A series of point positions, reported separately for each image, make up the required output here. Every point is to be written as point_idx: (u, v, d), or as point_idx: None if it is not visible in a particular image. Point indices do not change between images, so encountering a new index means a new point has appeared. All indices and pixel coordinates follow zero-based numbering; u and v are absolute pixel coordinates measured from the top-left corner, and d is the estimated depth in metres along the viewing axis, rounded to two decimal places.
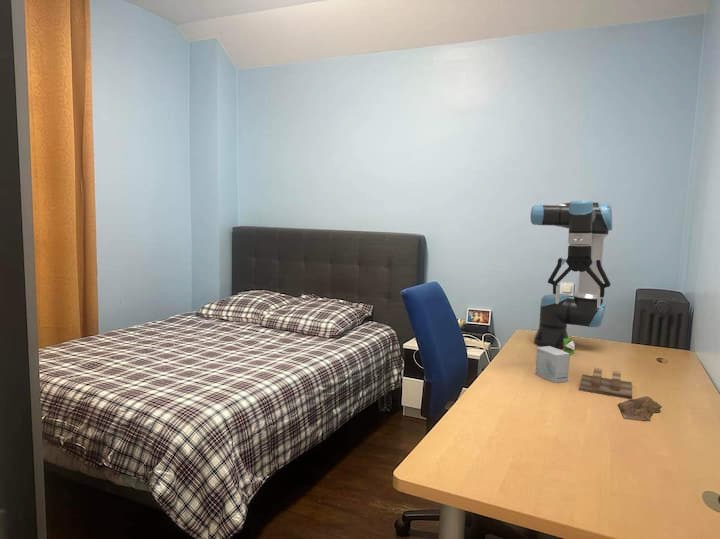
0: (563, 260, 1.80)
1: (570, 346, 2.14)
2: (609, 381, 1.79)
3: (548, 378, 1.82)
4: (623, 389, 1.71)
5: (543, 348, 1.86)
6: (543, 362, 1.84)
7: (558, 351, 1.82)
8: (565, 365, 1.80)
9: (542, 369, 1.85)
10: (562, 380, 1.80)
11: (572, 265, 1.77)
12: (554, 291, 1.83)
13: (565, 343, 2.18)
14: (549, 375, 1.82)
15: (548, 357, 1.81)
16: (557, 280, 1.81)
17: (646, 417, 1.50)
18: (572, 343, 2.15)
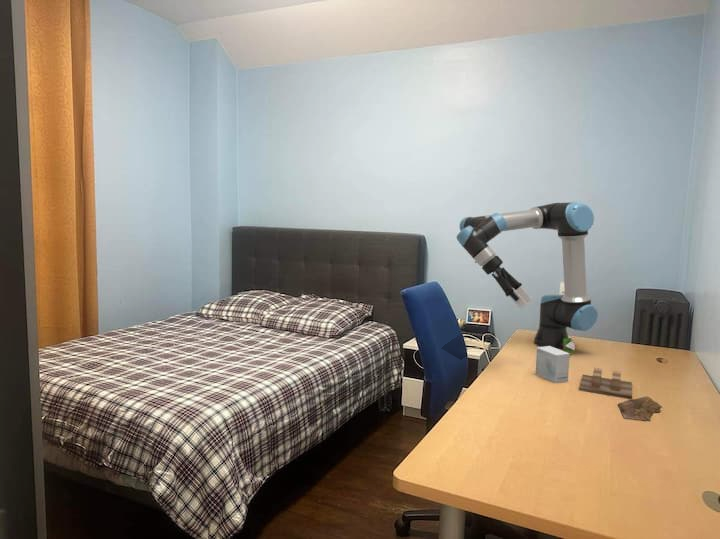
0: None
1: (570, 346, 2.14)
2: (609, 381, 1.79)
3: (548, 378, 1.82)
4: (623, 389, 1.71)
5: (543, 348, 1.86)
6: (543, 362, 1.84)
7: (558, 351, 1.82)
8: (565, 365, 1.80)
9: (542, 369, 1.85)
10: (562, 380, 1.80)
11: None
12: None
13: (565, 343, 2.18)
14: (549, 375, 1.82)
15: (548, 357, 1.81)
16: None
17: (646, 417, 1.50)
18: (572, 343, 2.15)
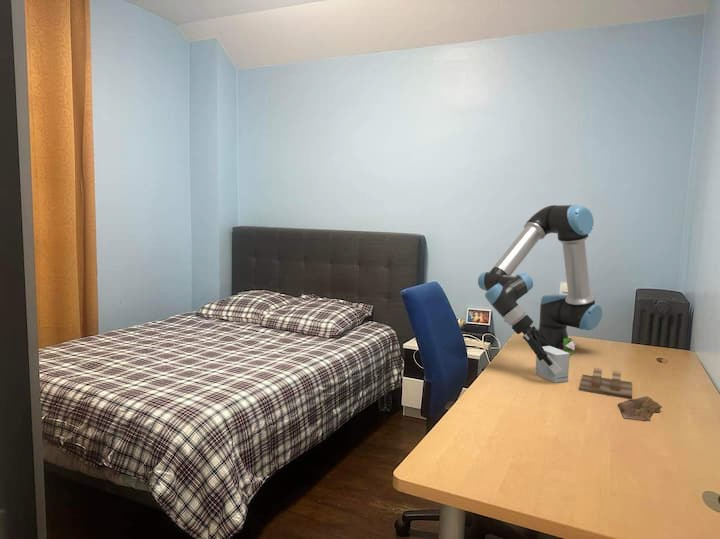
0: None
1: (570, 346, 2.14)
2: (609, 381, 1.79)
3: (548, 378, 1.82)
4: (623, 389, 1.71)
5: (543, 348, 1.86)
6: (543, 362, 1.84)
7: (558, 351, 1.82)
8: (565, 365, 1.80)
9: (542, 369, 1.85)
10: (562, 380, 1.80)
11: None
12: None
13: (565, 343, 2.18)
14: (549, 375, 1.81)
15: None
16: None
17: (646, 417, 1.50)
18: (572, 343, 2.15)
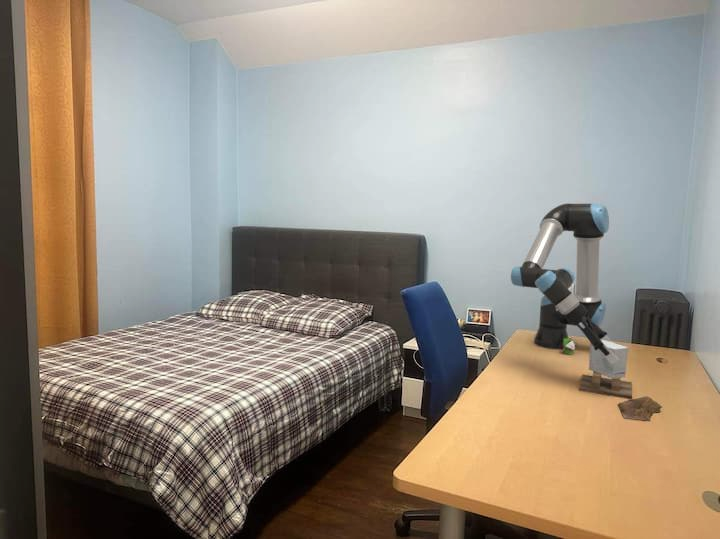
0: None
1: (570, 346, 2.14)
2: (609, 381, 1.79)
3: (604, 374, 1.72)
4: (623, 389, 1.71)
5: None
6: (598, 357, 1.74)
7: (615, 345, 1.72)
8: (623, 360, 1.70)
9: (597, 364, 1.75)
10: (620, 376, 1.71)
11: None
12: None
13: (565, 343, 2.18)
14: (605, 371, 1.72)
15: None
16: None
17: (646, 417, 1.50)
18: (572, 343, 2.15)
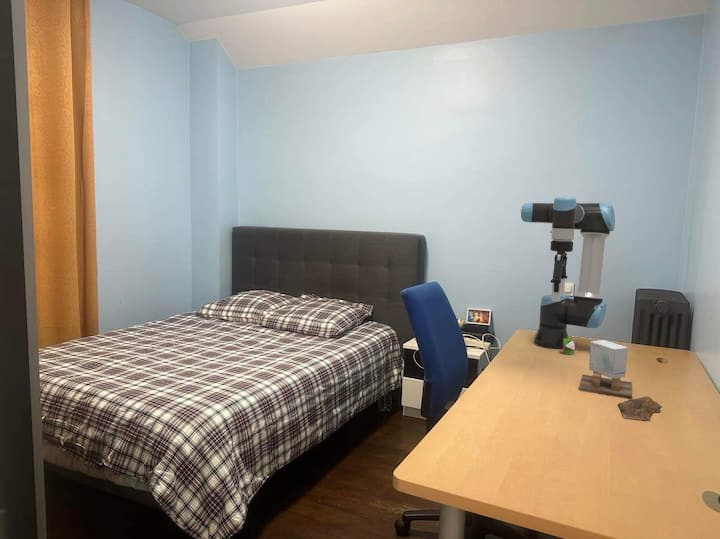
0: None
1: (570, 346, 2.14)
2: (609, 381, 1.79)
3: (604, 374, 1.72)
4: (623, 389, 1.71)
5: (598, 342, 1.76)
6: (598, 357, 1.74)
7: (615, 345, 1.72)
8: (623, 360, 1.70)
9: (597, 364, 1.75)
10: (620, 376, 1.71)
11: None
12: None
13: (565, 343, 2.18)
14: (605, 371, 1.72)
15: (605, 352, 1.72)
16: None
17: (646, 417, 1.50)
18: (572, 343, 2.15)
